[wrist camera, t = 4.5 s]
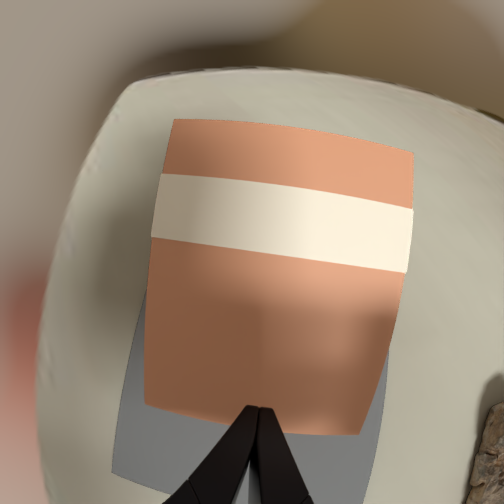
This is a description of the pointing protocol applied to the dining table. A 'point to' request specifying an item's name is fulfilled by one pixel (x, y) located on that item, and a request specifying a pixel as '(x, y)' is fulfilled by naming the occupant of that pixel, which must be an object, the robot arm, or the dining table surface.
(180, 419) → the mat
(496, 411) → the weathered wood piece
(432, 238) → the dining table surface
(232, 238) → the tall box
